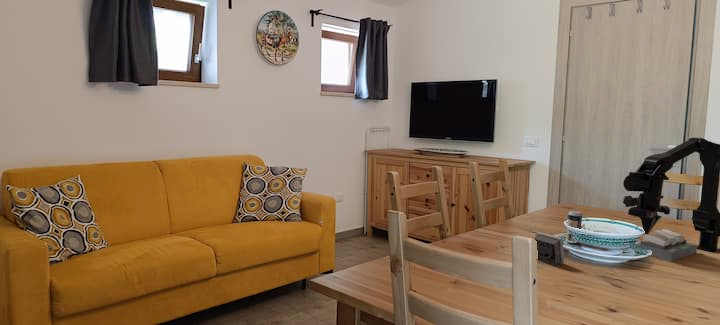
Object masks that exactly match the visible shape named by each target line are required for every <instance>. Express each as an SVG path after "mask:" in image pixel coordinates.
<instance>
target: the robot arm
mask: <svg viewBox="0 0 720 325" xmlns="http://www.w3.org/2000/svg"><path fill="white" fill-rule="evenodd" d="M694 153H697V154H699V155H698V156H699V161H700V163H701V165H702V167H703V172H702V184H701V192H700V202H699V203H700V204H699V206H698V207H697V208H696V209H693V210H692V217H691V221H692V224H693V229H694V231H695V232H696V231H697V232H699V238H698V244H697V250H699V249H700V250H703V251H707V252H712V253H716V252H719V251H720V247H718V245H719V237H720V211H719V209H718V197H719V196H718V195H719V185H720V143H717V142H712V141H709V140H707V139H705V138H703V137H690V138H688V139H687V140H686V141H684V142H682V143H680V144H678V145H676V146H675V147H673V148H671V149H669V150H666V151H664V152H661V153H655V154H652V155H648V156H647V157H645V158H644V160H643V162H642V163H641V164H640V166H639V167H638V168H637V170H636V171H629V174H628V175H626V177H625V178H624V180H623V182H622V183H623V188H624V189H625V190H626V191H627V192H640V193H639V195H638V196H636V197H633V195H625V196H624V197H623V201H622V204H624V205H625V208H628V212H627V215H628V216H632V217H637V218H639V219H640V221H641V226H642V230H644V231H645V233H644V231H643V235H645V234H649V233H650V232H651V231H652V230H653V228H654V227H655V225H657V223H658V222H659V220H660V219H661V218H662V215H659V214H658V213H663V214H664V215H666V216H667V215H670V212H671V209H670V207H669V206H667V205H664V204H661V199H664V195H662V192H663V187H664V181H669V180H670V177H669V176H668V175H666V173H668V171H670V170H671V169H672V168H673V166H674V165H675V164H676V163H677V162H679V161H681V160H683V159H685V158H686V157H688V156H690V155H692V154H694Z"/></svg>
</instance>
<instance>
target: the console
mask: <svg viewBox="0 0 720 325" xmlns="http://www.w3.org/2000/svg"><path fill="white" fill-rule="evenodd" d="M697 246H698V244H693V243H690V242H687V239H684V241H683V242H678V241H677V243H676V244H674V245H672V244H670V243H669V245H667V246H661V245H658V244H655V243H652V242H649V241H646V240H640V242H638V243H635V246H634V248H635V247H636V248H641V249H646V250H651V251H652V255H651V256H650V257H652V258H655V259H660V260H664V261H668V262H675V261H676V260H680V259H682V258H683V259H684V258H686V257H689V256H691V255H695V254H696V253H697V250H698V248H697Z"/></svg>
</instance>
